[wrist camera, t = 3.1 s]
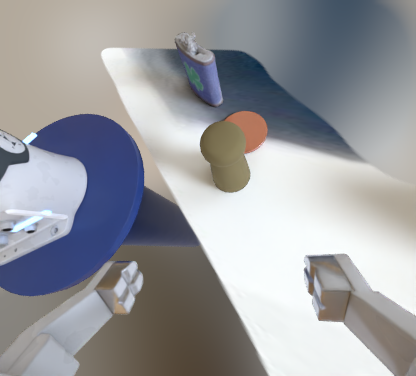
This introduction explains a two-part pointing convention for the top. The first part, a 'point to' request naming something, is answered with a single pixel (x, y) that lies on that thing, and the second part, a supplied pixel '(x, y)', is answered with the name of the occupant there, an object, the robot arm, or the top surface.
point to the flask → (199, 69)
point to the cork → (226, 155)
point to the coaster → (250, 128)
